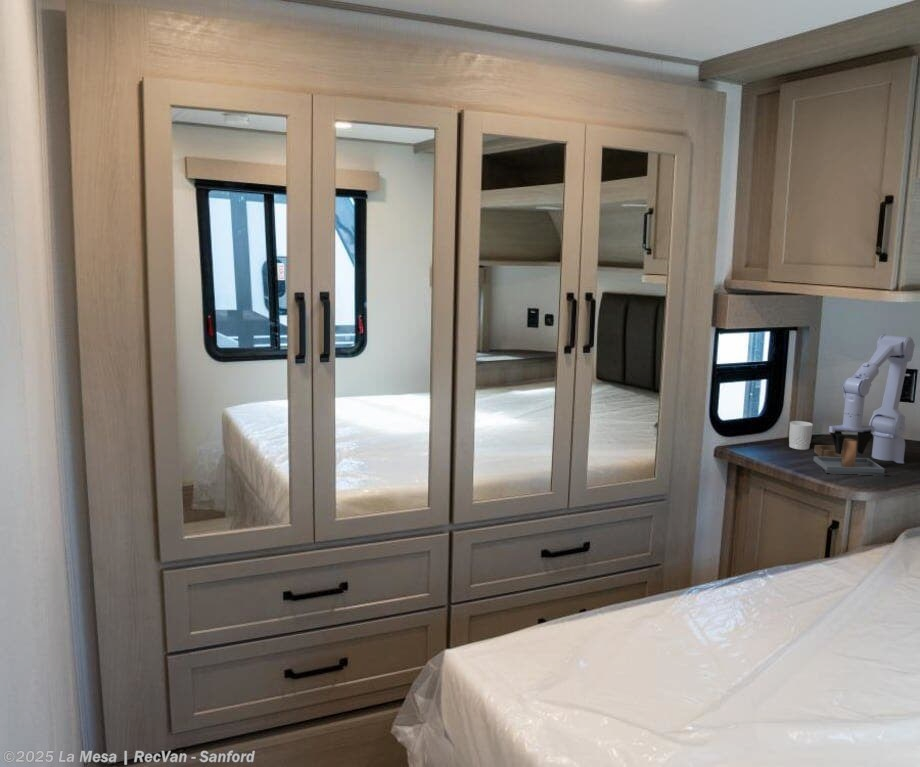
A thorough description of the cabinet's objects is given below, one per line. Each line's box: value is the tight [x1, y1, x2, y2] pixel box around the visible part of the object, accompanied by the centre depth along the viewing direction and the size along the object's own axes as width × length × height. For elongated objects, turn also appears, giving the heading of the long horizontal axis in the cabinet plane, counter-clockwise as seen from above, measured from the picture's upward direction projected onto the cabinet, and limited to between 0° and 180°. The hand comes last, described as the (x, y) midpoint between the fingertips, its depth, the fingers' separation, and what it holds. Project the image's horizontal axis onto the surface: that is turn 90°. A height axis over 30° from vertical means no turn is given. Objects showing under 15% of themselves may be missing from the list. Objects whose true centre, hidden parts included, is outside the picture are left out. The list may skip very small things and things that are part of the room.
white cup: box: [788, 420, 814, 451], centre depth 282 cm, size 8×8×10 cm
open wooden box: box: [813, 444, 843, 457], centre depth 272 cm, size 8×8×4 cm
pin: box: [841, 438, 858, 467], centre depth 256 cm, size 4×4×9 cm
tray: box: [813, 455, 886, 477], centre depth 257 cm, size 18×13×2 cm
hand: (849, 453), depth 256 cm, fingers open, 7 cm apart
